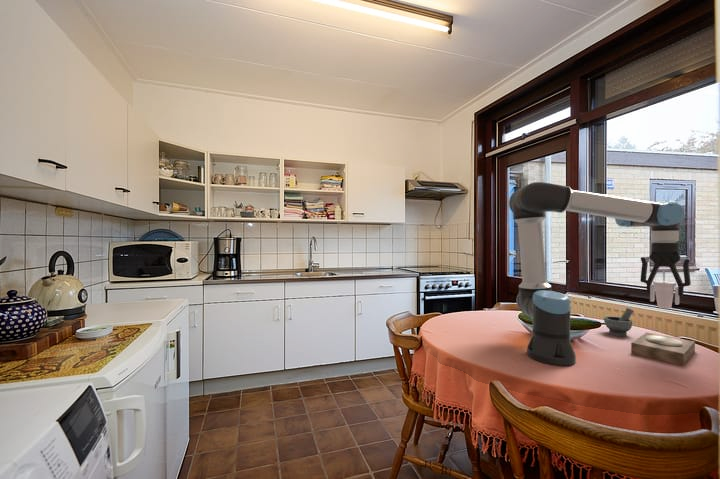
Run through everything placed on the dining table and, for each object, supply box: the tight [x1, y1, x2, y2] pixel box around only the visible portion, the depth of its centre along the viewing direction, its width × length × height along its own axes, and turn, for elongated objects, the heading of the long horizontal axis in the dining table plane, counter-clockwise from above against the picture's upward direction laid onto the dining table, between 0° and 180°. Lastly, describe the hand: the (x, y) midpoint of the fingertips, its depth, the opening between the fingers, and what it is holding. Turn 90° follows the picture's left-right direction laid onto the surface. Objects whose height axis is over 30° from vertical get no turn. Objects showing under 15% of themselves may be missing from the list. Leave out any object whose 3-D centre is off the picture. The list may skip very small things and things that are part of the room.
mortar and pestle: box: [603, 307, 634, 337], centre depth 142 cm, size 11×9×12 cm
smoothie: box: [652, 270, 677, 309], centre depth 119 cm, size 6×6×14 cm
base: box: [630, 332, 696, 366], centre depth 120 cm, size 14×22×5 cm, turn 126°
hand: (664, 302), depth 119 cm, fingers closed on smoothie, 6 cm apart
